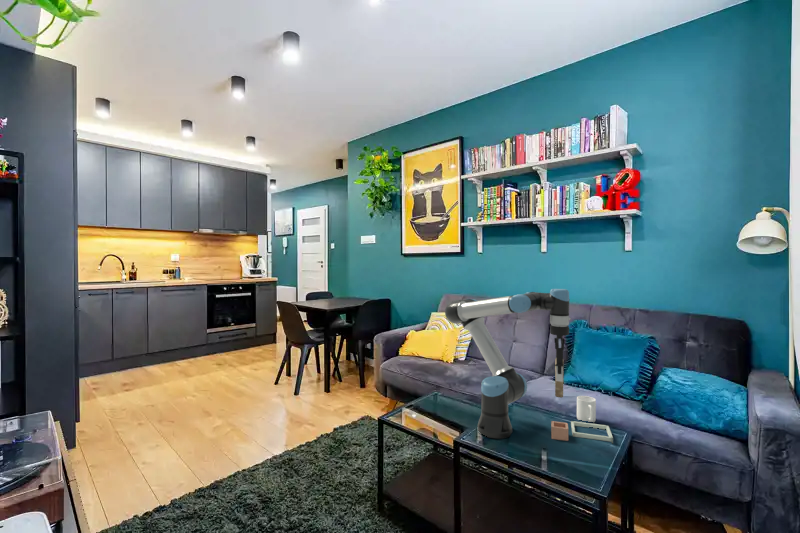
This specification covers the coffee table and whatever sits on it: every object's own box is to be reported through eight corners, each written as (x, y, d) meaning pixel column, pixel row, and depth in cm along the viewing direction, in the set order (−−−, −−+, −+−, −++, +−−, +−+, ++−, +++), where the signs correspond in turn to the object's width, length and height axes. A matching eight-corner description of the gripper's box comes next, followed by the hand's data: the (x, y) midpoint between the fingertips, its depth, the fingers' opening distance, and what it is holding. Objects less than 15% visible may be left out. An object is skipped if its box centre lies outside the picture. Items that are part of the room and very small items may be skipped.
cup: (592, 416, 195) (592, 396, 195) (601, 426, 183) (601, 404, 183) (574, 416, 196) (574, 395, 196) (582, 425, 184) (582, 404, 184)
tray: (572, 438, 171) (572, 432, 171) (571, 426, 183) (571, 421, 183) (613, 444, 165) (613, 438, 165) (608, 431, 178) (608, 425, 178)
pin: (555, 397, 170) (555, 359, 169) (555, 394, 173) (555, 357, 172) (563, 397, 168) (563, 360, 168) (563, 395, 171) (563, 358, 171)
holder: (551, 440, 169) (551, 426, 168) (551, 434, 175) (551, 420, 175) (568, 443, 166) (568, 429, 166) (567, 436, 172) (567, 423, 172)
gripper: (570, 328, 161) (569, 386, 161) (568, 322, 176) (567, 375, 177) (550, 327, 164) (549, 384, 164) (550, 322, 179) (549, 374, 179)
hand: (559, 379), depth 170 cm, fingers closed on pin, 3 cm apart
